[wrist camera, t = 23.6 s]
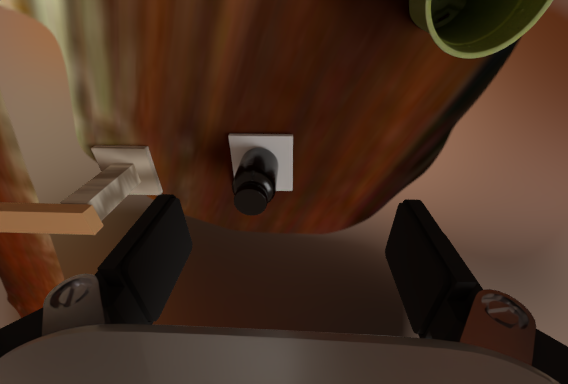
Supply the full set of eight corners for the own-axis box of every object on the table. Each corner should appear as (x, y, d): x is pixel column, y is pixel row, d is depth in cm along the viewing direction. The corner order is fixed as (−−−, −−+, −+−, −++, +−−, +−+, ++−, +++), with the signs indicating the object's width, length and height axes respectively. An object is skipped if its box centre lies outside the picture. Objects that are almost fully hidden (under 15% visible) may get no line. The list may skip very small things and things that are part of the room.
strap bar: (-63, 200, 38) (-80, 209, 36) (92, 204, 36) (82, 213, 35) (-44, 221, 40) (-59, 230, 38) (103, 225, 39) (94, 234, 37)
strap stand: (95, 145, 47) (28, 184, 35) (147, 146, 46) (97, 186, 35) (115, 190, 52) (64, 237, 41) (162, 191, 52) (124, 239, 40)
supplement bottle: (241, 178, 48) (226, 219, 38) (241, 144, 44) (223, 179, 34) (278, 181, 48) (272, 223, 38) (280, 148, 44) (274, 184, 34)
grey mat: (229, 133, 44) (228, 135, 43) (292, 134, 43) (292, 136, 43) (236, 187, 50) (235, 189, 49) (292, 188, 50) (292, 190, 49)
